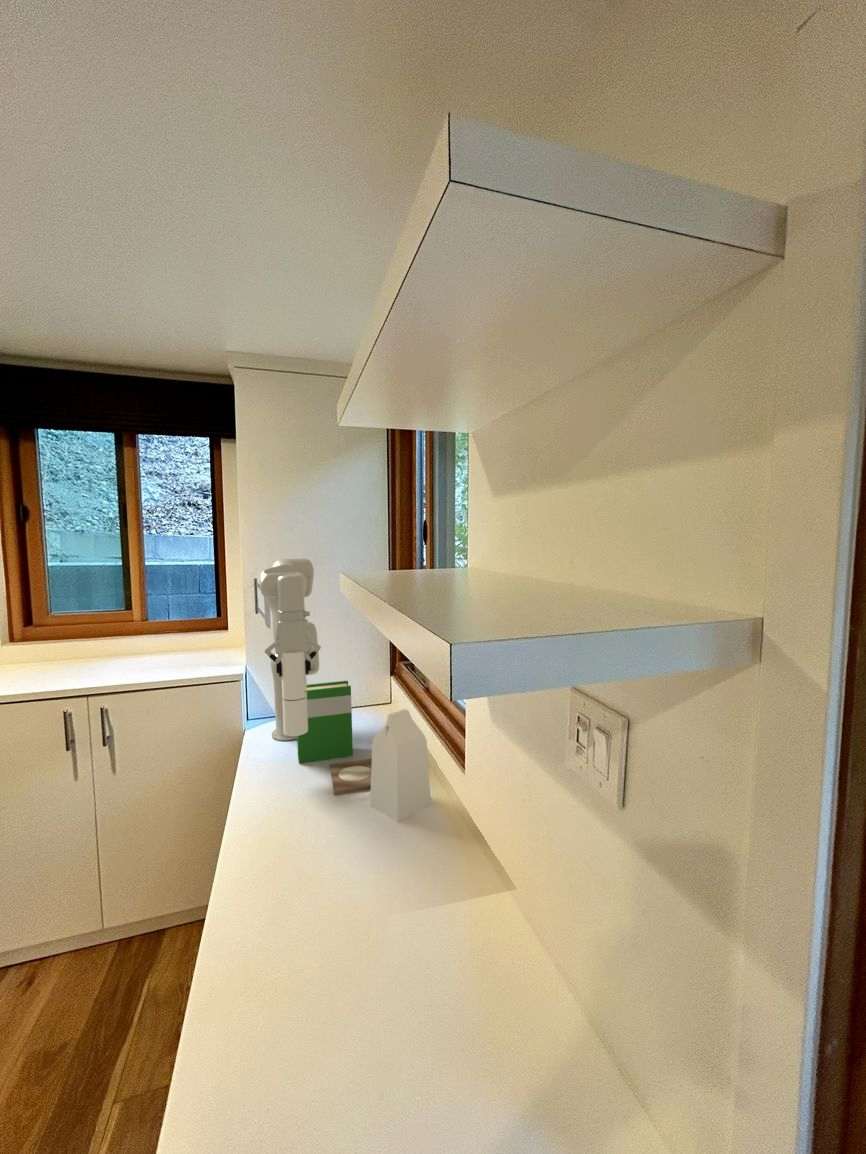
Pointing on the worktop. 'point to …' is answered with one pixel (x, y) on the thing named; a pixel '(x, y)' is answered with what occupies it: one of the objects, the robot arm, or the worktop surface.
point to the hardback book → (327, 723)
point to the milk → (399, 768)
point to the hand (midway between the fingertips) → (293, 674)
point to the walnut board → (351, 776)
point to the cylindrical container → (294, 693)
